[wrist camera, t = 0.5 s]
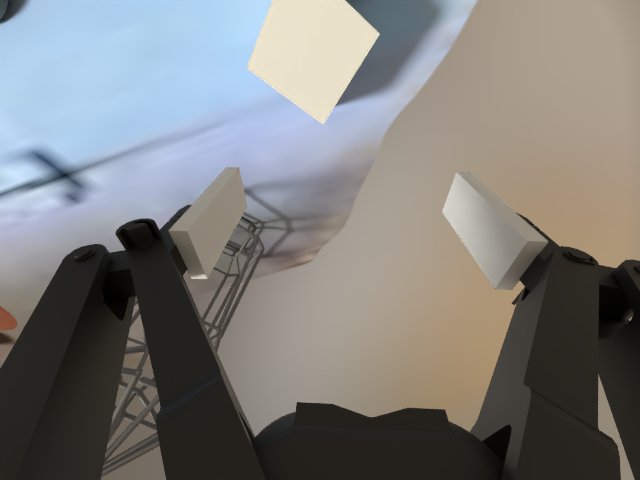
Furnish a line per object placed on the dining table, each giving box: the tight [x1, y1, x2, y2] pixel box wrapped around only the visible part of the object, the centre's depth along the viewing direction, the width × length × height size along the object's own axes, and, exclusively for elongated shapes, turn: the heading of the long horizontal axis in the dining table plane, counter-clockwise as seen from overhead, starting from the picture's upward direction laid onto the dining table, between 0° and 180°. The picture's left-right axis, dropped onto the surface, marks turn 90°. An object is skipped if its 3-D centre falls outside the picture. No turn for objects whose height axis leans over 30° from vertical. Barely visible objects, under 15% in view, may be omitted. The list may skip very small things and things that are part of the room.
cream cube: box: [247, 0, 380, 124], centre depth 26 cm, size 9×9×9 cm
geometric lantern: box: [101, 218, 264, 477], centre depth 33 cm, size 16×16×35 cm
